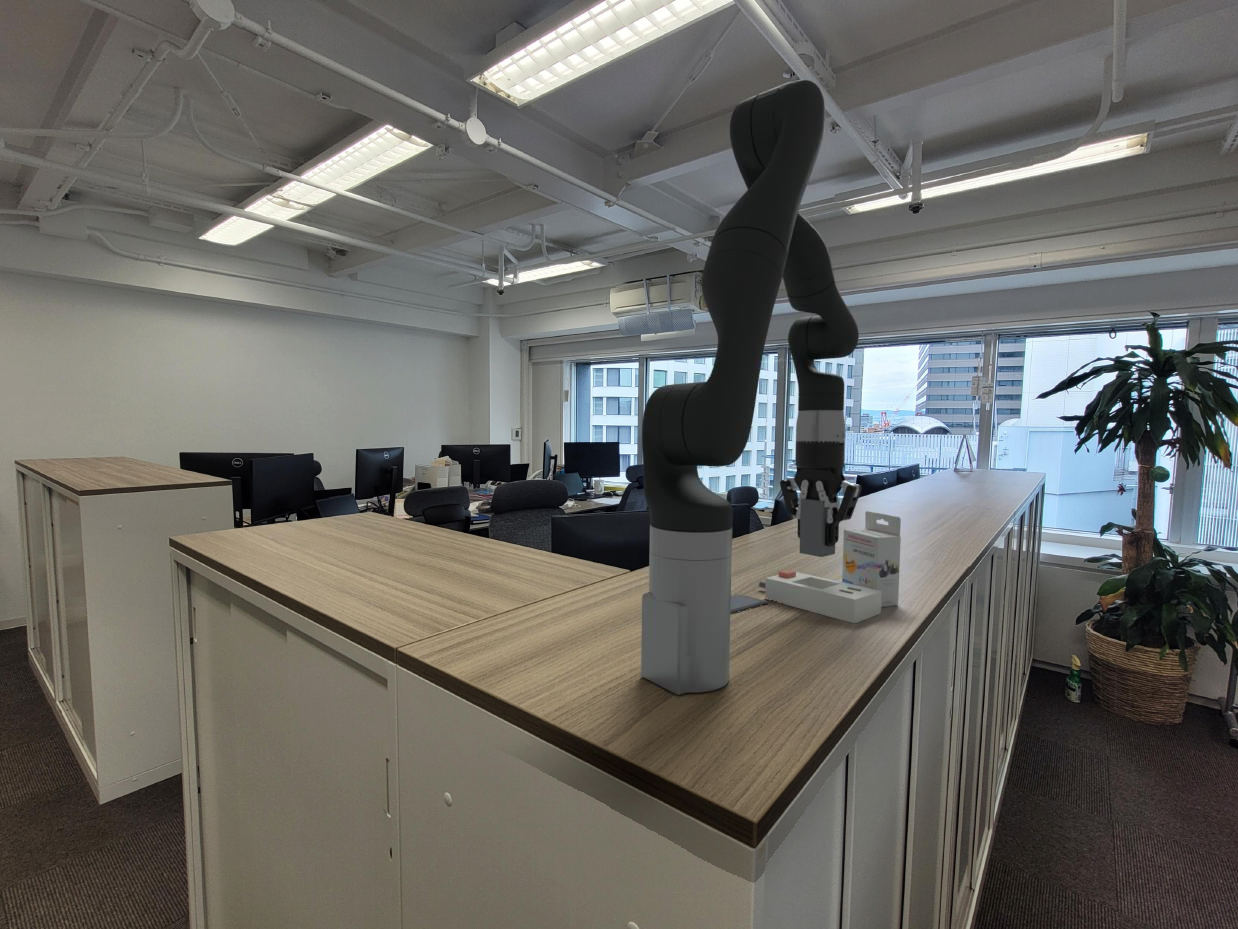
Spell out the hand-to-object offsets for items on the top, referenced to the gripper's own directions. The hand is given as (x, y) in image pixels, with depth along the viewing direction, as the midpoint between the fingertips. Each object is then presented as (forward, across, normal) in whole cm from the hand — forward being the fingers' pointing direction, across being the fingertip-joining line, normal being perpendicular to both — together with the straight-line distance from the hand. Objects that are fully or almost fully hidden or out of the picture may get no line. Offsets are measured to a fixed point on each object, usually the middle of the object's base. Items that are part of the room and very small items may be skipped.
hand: (817, 542), depth 92 cm
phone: (+11, -8, -12) cm, 18 cm away
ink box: (+11, +4, +10) cm, 15 cm away
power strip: (+10, -1, 0) cm, 10 cm away
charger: (+2, 0, 0) cm, 2 cm away
